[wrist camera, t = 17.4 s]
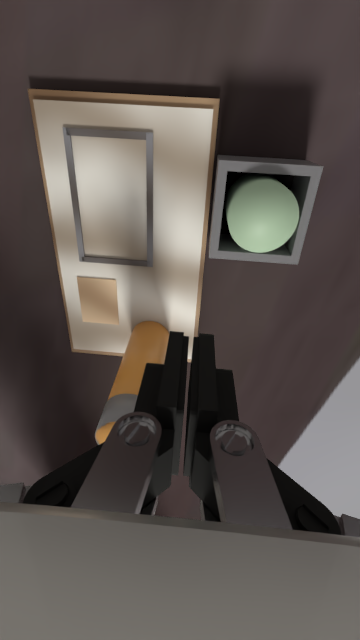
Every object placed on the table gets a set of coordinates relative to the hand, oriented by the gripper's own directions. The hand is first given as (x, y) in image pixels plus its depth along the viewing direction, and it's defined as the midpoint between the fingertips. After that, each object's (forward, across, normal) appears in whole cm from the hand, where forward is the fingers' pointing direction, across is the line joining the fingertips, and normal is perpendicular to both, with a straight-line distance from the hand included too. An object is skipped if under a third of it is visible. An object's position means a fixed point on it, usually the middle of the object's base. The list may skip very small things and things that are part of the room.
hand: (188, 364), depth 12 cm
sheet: (+13, +5, 0) cm, 14 cm away
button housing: (+12, -4, -4) cm, 13 cm away
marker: (+12, +3, +7) cm, 14 cm away
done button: (+12, -3, -4) cm, 13 cm away
